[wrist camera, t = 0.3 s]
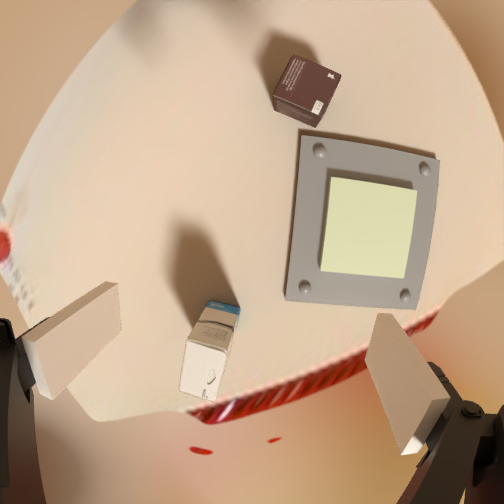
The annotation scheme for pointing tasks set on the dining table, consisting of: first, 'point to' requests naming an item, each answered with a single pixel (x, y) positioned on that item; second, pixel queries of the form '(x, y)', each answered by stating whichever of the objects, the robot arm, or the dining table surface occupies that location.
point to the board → (361, 224)
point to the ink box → (208, 350)
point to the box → (305, 90)
